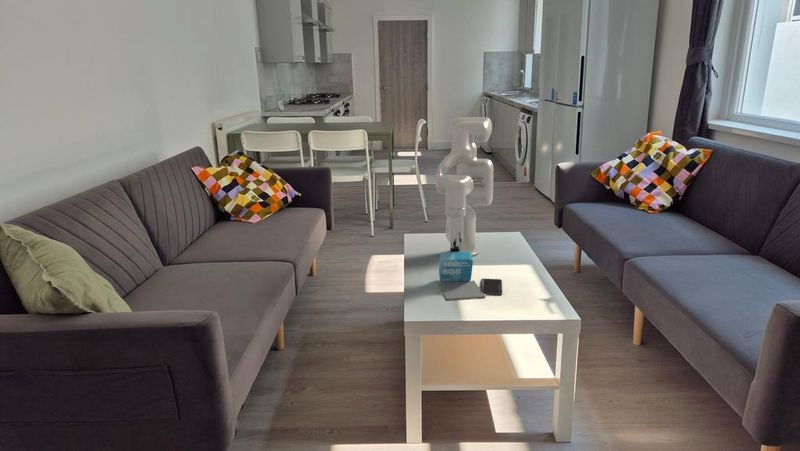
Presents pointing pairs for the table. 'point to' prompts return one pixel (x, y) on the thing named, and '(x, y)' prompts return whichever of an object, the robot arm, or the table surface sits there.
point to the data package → (455, 266)
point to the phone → (491, 287)
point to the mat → (461, 290)
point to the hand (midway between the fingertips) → (454, 257)
